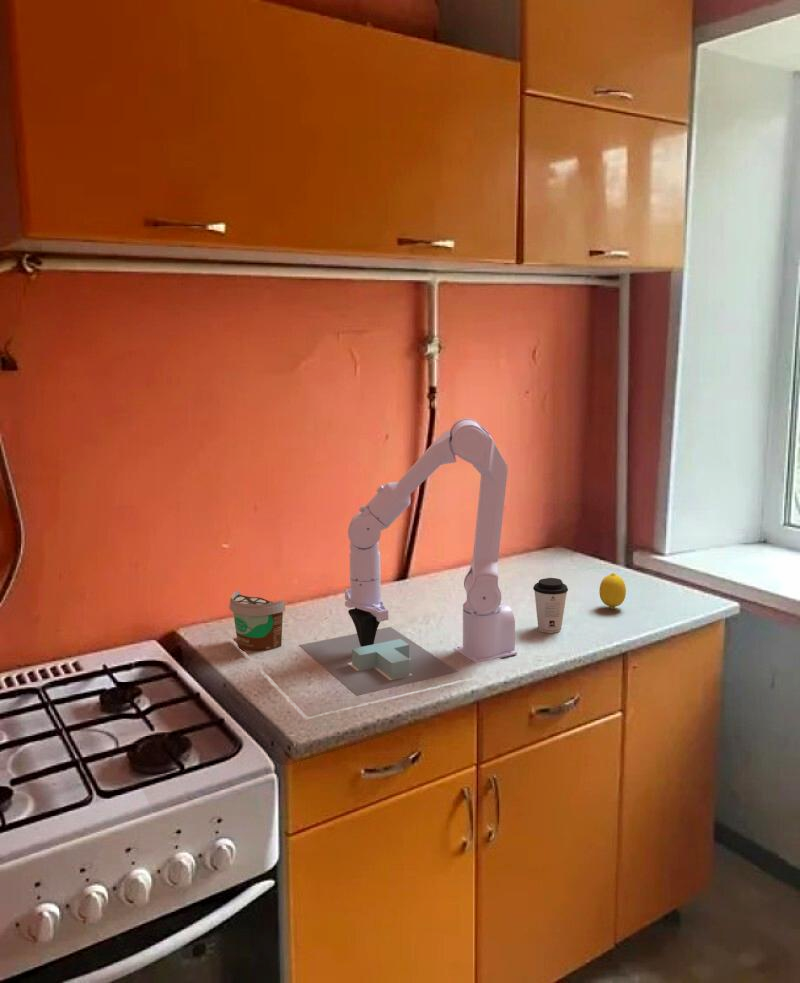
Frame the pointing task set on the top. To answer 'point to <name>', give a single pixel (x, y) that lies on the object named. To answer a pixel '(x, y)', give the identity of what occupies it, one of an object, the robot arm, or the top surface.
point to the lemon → (612, 590)
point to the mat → (339, 664)
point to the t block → (384, 658)
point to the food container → (257, 622)
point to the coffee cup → (550, 604)
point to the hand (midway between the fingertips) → (366, 646)
